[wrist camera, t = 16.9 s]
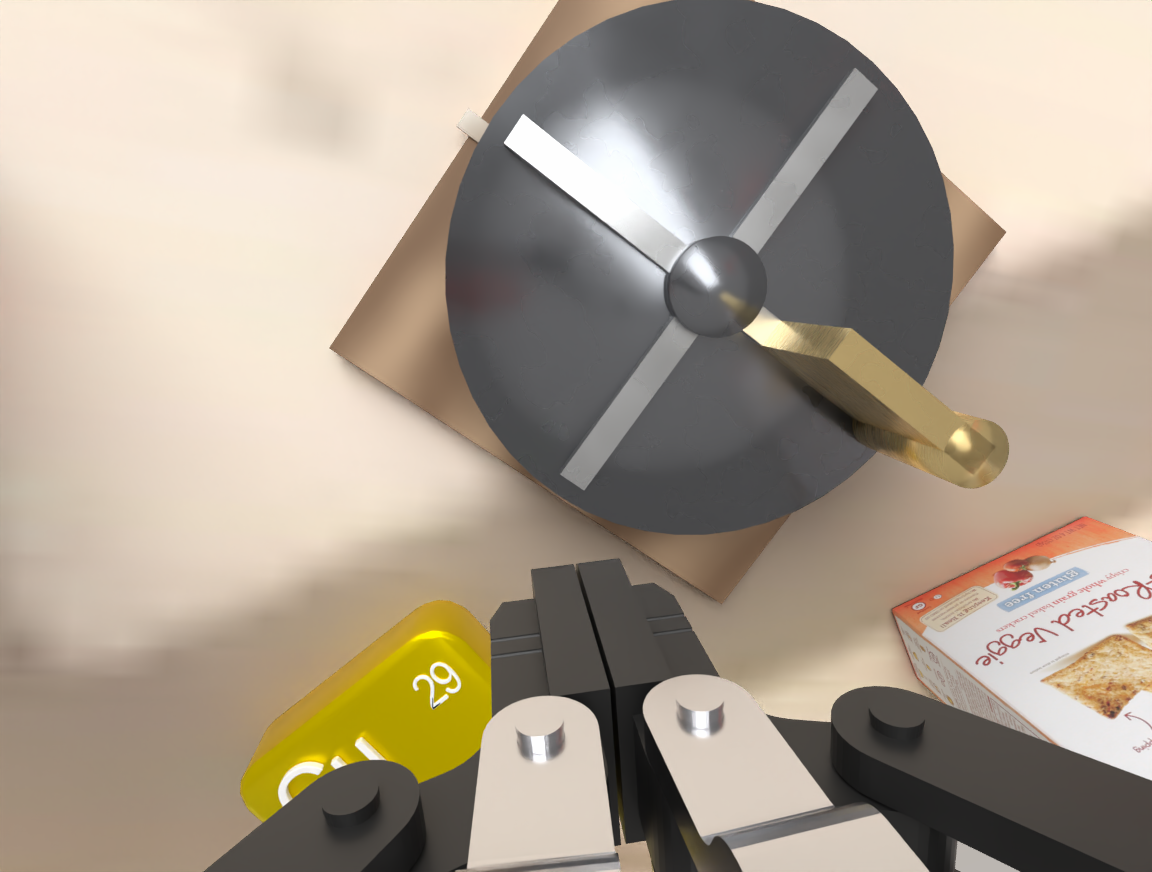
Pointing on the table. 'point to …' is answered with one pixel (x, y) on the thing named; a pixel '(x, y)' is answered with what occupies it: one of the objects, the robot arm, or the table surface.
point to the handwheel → (707, 272)
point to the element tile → (384, 709)
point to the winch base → (427, 354)
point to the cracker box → (1048, 642)
